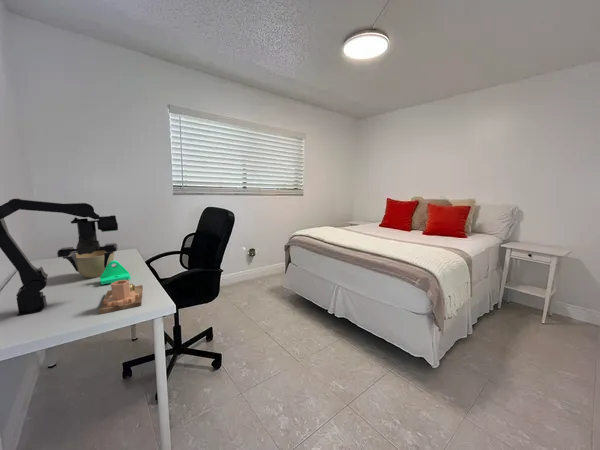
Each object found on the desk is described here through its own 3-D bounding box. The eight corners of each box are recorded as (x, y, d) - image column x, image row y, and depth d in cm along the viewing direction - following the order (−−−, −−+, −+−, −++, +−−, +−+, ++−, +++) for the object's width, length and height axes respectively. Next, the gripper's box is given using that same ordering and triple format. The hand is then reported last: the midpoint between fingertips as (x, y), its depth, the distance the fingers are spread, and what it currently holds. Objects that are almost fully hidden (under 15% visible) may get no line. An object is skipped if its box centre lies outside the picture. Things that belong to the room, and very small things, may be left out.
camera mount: (101, 286, 119) (98, 265, 117) (100, 282, 124) (98, 262, 123) (131, 280, 126) (129, 261, 125) (129, 277, 132) (127, 258, 131)
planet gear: (102, 309, 92) (99, 290, 91) (106, 298, 102) (104, 280, 101) (138, 302, 98) (136, 284, 97) (139, 292, 107) (137, 275, 106)
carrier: (99, 313, 92) (97, 298, 91) (108, 294, 110) (106, 280, 109) (141, 305, 98) (139, 291, 97) (142, 288, 116) (141, 275, 115)
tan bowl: (98, 281, 125) (95, 257, 124) (63, 281, 126) (60, 257, 124) (124, 270, 143) (122, 249, 142) (93, 270, 144) (90, 249, 142)
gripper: (50, 238, 92) (55, 279, 94) (112, 234, 101) (116, 271, 103) (59, 234, 101) (64, 271, 103) (115, 230, 111) (119, 264, 113)
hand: (91, 269), depth 106 cm, fingers open, 9 cm apart
